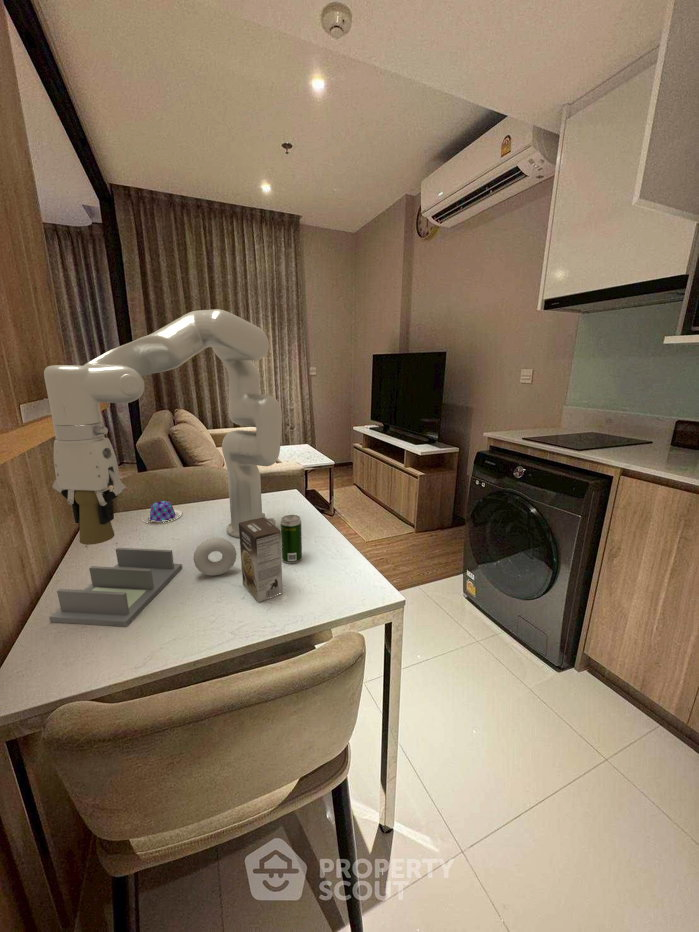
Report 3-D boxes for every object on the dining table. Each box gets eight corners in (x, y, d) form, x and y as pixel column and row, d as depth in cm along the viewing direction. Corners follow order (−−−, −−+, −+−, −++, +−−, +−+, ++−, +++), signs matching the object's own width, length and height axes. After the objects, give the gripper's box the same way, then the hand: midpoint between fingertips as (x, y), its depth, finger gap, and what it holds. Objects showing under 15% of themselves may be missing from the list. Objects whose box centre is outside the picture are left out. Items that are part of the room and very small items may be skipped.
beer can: (304, 562, 99) (303, 521, 95) (283, 566, 97) (282, 523, 94) (299, 553, 103) (298, 513, 100) (280, 556, 102) (278, 515, 98)
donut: (195, 581, 89) (190, 544, 87) (195, 574, 92) (191, 537, 90) (238, 574, 92) (235, 538, 90) (237, 567, 96) (234, 532, 93)
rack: (182, 568, 95) (179, 546, 93) (126, 626, 74) (122, 600, 72) (122, 565, 96) (118, 543, 94) (50, 622, 75) (44, 596, 73)
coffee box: (241, 584, 88) (237, 522, 84) (266, 575, 92) (263, 515, 88) (257, 604, 82) (253, 537, 77) (283, 593, 85) (281, 529, 81)
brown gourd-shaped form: (97, 546, 73) (89, 493, 70) (71, 542, 74) (62, 490, 71) (121, 533, 78) (114, 483, 76) (97, 530, 80) (89, 481, 77)
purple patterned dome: (147, 512, 130) (145, 498, 128) (184, 509, 133) (183, 496, 131) (138, 527, 118) (136, 511, 117) (179, 523, 122) (177, 508, 120)
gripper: (135, 430, 74) (146, 515, 78) (54, 427, 75) (70, 512, 79) (108, 437, 66) (123, 531, 71) (19, 434, 67) (39, 527, 72)
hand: (95, 520), depth 75 cm, fingers closed on brown gourd-shaped form, 4 cm apart
